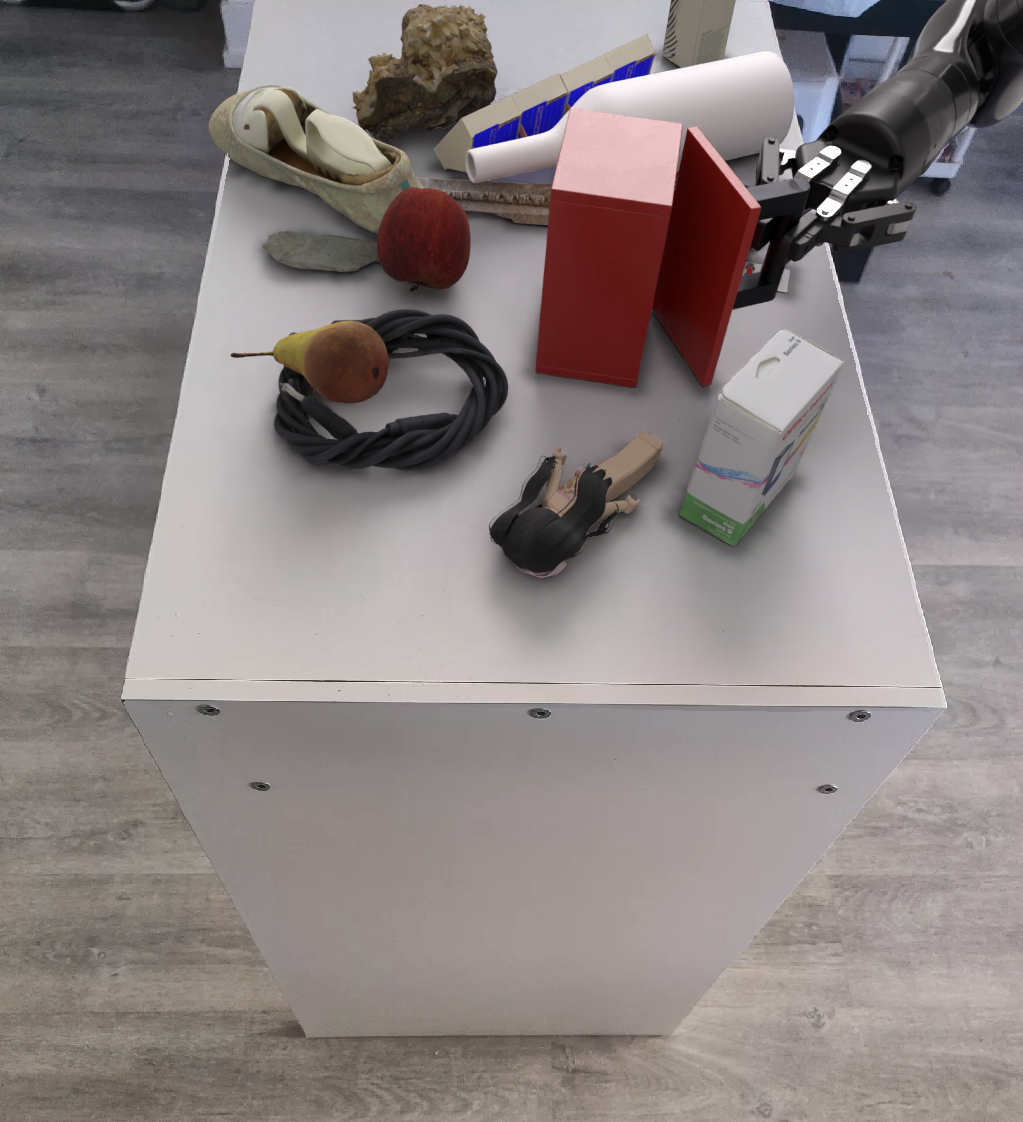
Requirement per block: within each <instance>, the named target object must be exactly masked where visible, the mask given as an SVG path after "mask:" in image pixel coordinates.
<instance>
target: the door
mask: <svg viewBox="0 0 1023 1122" xmlns="http://www.w3.org/2000/svg"><path fill="white" fill-rule="evenodd" d="M743 184H744V183H743V182H742V180H740V178H739V177H738V176H737V174H736V173H735V172H734V171H733V169H732V168H731V167H730V166H729V165H728V163H727V161H724V159H723V158H722V157H721V156H720V154H719V153H718V152H717V151H716V149H715V148H714V147H713V146H712V144H711V143H710V142H709V141H708V139H707V138H706V137H705V136H704V134H703V133H702V132H701V131H700V129H699V128H698V127H697V126H695V127H690V128H687V132H686V137H685V142H684V147H683V152H682V157H681V162H680V167H679V172H677V176H676V183H675V192H674V197H673V205H672V211H671V216H670V221H669V226H668V231H667V236H666V241H665V246H664V250H663V255H662V260H661V265H660V270H659V275H658V280H657V285H656V290H655V295H654V300H653V305H652V310H651V311H652V312H653V313H654V315H655V316H656V318H657V319H658V321H659V322H660V324H661V326H662V328H664V330H665V332H666V333H667V334H668V336H669V338H670V339H671V341H672V342H673V343H674V346H675V347H676V348H677V350H678V351H679V353H680V354H681V356H682V357H683V359H684V360H685V362H686V364H687V365H688V367H689V368H690V369H691V372H693V374H694V376H695V377H696V378H697V380H698V382H699V383H700V385H701V386H702V387H706V386H710V385H712V383H713V380H714V376H715V372H716V369H717V367H718V363H719V358H720V355H721V352H722V348H723V345H724V341H725V337H726V334H727V330H728V327H729V323H730V320H731V317H732V313H733V311H734V310H738V309H742V308H747V307H750V306H751V307H752V306H755V305H759V304H760V305H761V304H763V303H768V302H771V301H773V300H774V299H776V296H777V292H778V291H777V290H778V287H779V284H780V281H781V278H782V274H783V271H784V269H786V265H783V264H781V263H779V262H777V261H776V257H777V254H778V251H779V248H780V244H781V241H782V239H783V237H784V236H785V234H786V233H787V232H788V231H789V230H791V229H792V228H793V227H794V226H795V225H796V224H797V223H799V221H801V220H802V218H801V216H802V212H803V209H804V206H805V203H806V200H807V197H808V194H809V191H810V184H809V183H808V182H807V181H806V180H804V179H800V178H789V179H783V180H779V181H778V182H773V183H769V184H764V185H759V186H755V185H754V186H749V188H746V187H745V186H744V185H745V184H744V185H743ZM774 217H777V219H776V222H775V226H774V229H773V232H772V236H771V239H770V242H769V243H768V246H767V249H766V253H765V256H764V260H763V263H762V265H763V266H762V269H761V272H756V273H752V274H747V275H743V276H742V274H743V271H744V267H745V264H746V262H747V261H748V257H749V253H750V251H751V250H750V246H751V242H752V239H753V235H754V232H755V228H756V225H757V221H760V220H764V219H769V218H774Z"/></svg>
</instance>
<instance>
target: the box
mask: <svg viewBox="0 0 1023 1122" xmlns="http://www.w3.org/2000/svg"><path fill="white" fill-rule="evenodd" d="M736 2H737V0H670V5H669V8H668V10H669V11H668V15H667V16H668V17H667V23H666V27H665V28H666V29H665V35H664V42H663V47H662V51H661V52H662V53H661V55H662V56H663V57H664V58H665V59H667V60H669V61H670V62H671V63H673V64H674V65H676V66H677V67H679V68H685V67H690V66H694V65H699V64H704V63H709V62H714V61H719V60H724V59H725V58H724V57H725V54H726V53H725V52H726V49H727V45H728V40H729V35H730V30H731V25H732V20H733V15H734V11H735V7H736V6H735V5H736Z"/></svg>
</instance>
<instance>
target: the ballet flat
mask: <svg viewBox="0 0 1023 1122" xmlns="http://www.w3.org/2000/svg"><path fill="white" fill-rule="evenodd" d="M208 134H209V137H210V139H211V140H212V141H213V143H214V144H215V146H216V148H218V149H219V150H220V151H221V153H223V154H224V156H226V157H228V158H229V160H231V161H232V162H234V163H235V164H238V165H240V166H242V167H244V168H245V169H247V170H248V171H251V172H252V173H254V174H257V175H259V176H262V177H265V178H267V179H269V180H273V181H276V182H281V183H285V184H286V185H289V186H295V187H300V188H302V189H304V190H306V191H308V192H309V193H313V194H314V195H317V196H319V198H321V199H322V200H323V201H324V202H325V203H326V204H327V205H329V206H330V207H331V208H332V209H333V210H335V211H336V212H338V213H340V214H342V215H343V216H344V217H346V218H347V219H348V220H350V222H352V223H353V224H354V225H356V226H358V227H360V228H361V229H363V230H366V231H369V233H374V234H377V235H378V231H379V227H380V224H381V221H382V219H383V216H384V214H385V212H386V210H387V209H388V207H389V205H390V204H391V203H392V201H393V200H394V199H395V197H396V196H397V195H398V194H399V193H400V192H402V191H403V190H405V189H407V188H412V187H417V188H421V189H423V188H424V187H423V186H422V185H421V184H420V182H419V181H418V179H417V178H418V177H417V176H416V174H415V172H414V169H413V168H412V167H413V166H412V165H411V160H410V158H409V156H408V155H407V153H406V152H405V151H403V150H401V149H400V148H398V147H396V146H393V145H390V144H387V143H385V142H382V141H380V140H379V139H376V138H374V137H373V136H370V135H369V134H368V133H367V132H366V130H363V129H362V128H361V127H360V126H359V124H358V123H355V122H353V121H352V120H350V119H347V118H345V117H343V116H339V115H336V114H330V112H327V111H326V110H324V109H322V108H321V107H319V106H317V105H316V104H315V103H313V102H312V101H310V100H308V99H307V98H306V97H304V96H303V95H301V93H300V94H299V93H298V91H297V90H296V89H295V88H293V87H291V86H290V87H289V86H281V85H278V84H267V85H261V86H257V87H253V88H252V89H249V90H245V91H241V92H238V93H236V94H233V95H231V96H230V97H228V98H226V99H225V100H223V101H222V102H221V104H219V105H218V106H217V107H216V108H215V110H214V111H213V113H212V114H211V117H210V119H209V120H208ZM227 153H228V156H227Z"/></svg>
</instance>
